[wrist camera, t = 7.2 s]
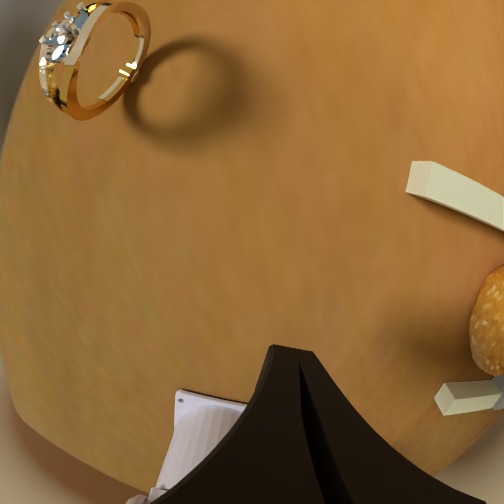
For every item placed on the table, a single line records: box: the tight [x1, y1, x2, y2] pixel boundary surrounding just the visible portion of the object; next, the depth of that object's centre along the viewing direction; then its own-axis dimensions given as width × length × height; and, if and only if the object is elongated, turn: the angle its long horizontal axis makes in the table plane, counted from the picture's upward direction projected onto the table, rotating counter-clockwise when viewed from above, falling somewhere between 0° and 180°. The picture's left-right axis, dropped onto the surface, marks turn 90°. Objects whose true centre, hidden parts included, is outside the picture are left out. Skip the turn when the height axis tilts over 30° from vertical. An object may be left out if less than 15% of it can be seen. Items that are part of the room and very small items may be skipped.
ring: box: [39, 0, 151, 121], centre depth 11 cm, size 7×3×8 cm, turn 147°
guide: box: [406, 161, 504, 416], centre depth 16 cm, size 18×21×3 cm
